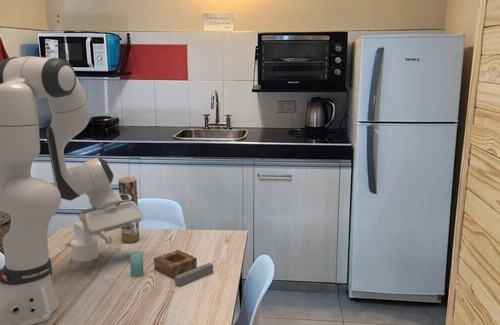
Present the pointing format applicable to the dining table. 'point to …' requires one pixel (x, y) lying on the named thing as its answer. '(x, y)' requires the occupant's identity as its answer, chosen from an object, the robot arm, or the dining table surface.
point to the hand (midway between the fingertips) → (122, 238)
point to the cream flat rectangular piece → (193, 274)
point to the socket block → (174, 263)
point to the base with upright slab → (83, 245)
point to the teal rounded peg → (136, 264)
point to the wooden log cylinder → (130, 187)
